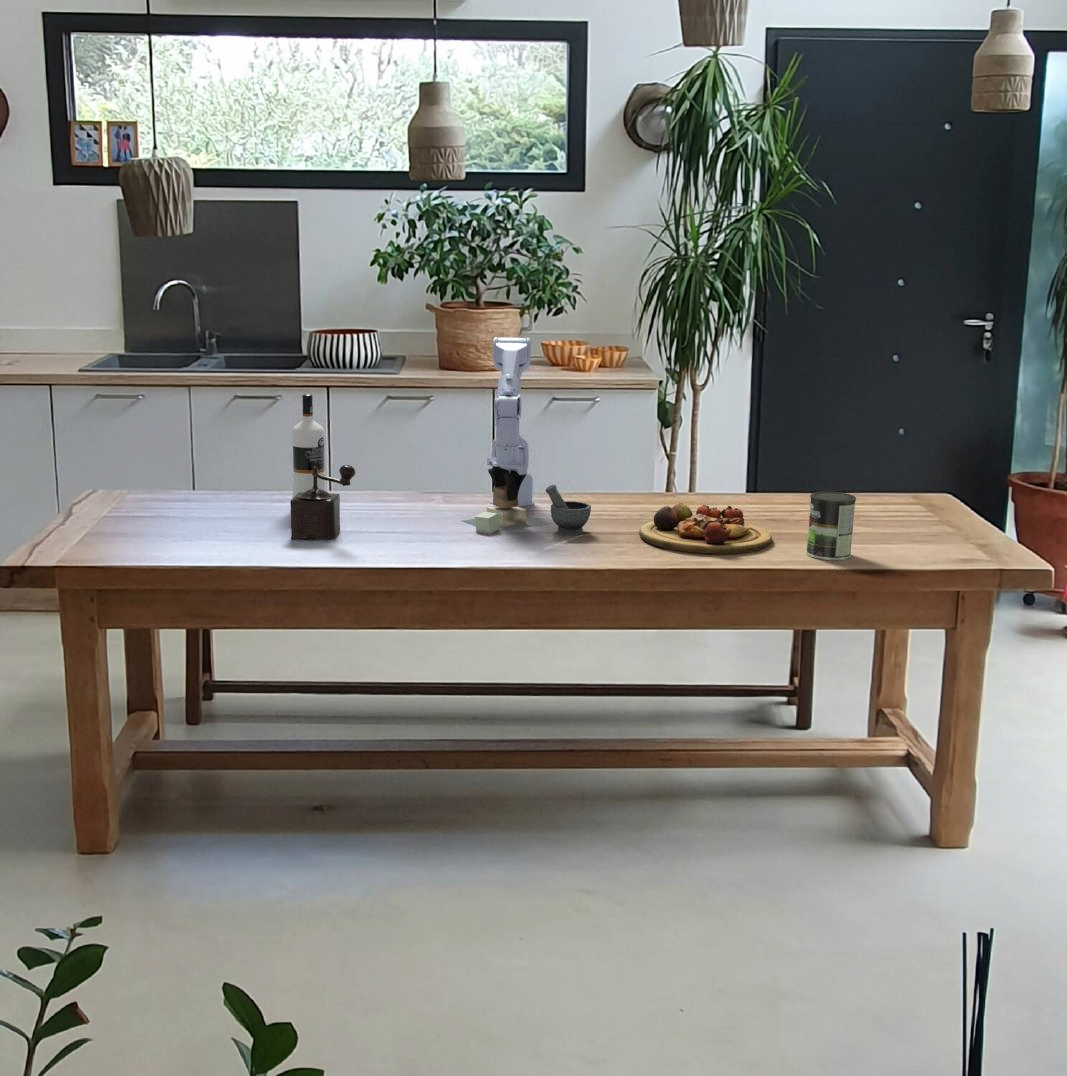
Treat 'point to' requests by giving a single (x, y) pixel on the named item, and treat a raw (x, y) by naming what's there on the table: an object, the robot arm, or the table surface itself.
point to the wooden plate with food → (704, 531)
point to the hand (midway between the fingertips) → (506, 498)
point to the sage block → (487, 522)
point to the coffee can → (830, 525)
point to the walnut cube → (503, 498)
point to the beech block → (509, 515)
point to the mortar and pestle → (568, 513)
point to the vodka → (307, 450)
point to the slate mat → (529, 523)
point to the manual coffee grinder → (318, 509)
